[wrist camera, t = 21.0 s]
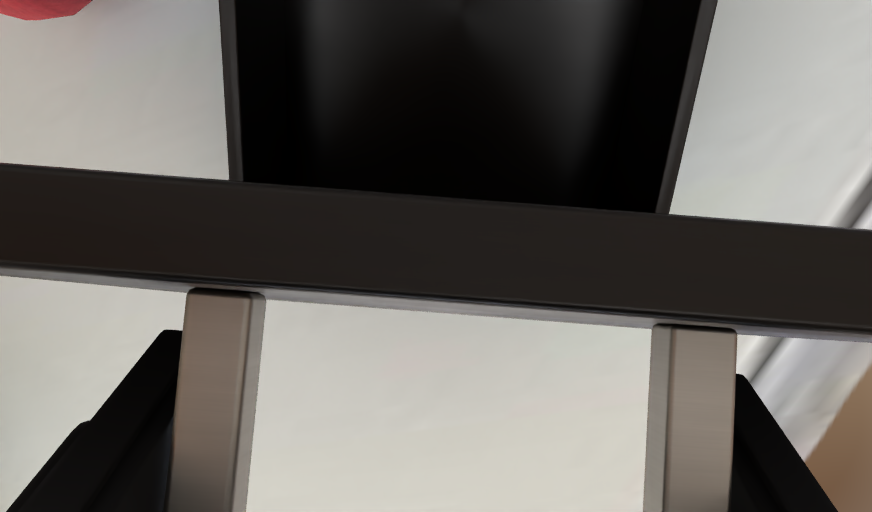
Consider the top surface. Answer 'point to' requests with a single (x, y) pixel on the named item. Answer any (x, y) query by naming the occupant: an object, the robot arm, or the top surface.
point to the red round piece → (41, 8)
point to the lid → (436, 293)
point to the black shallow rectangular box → (465, 96)
